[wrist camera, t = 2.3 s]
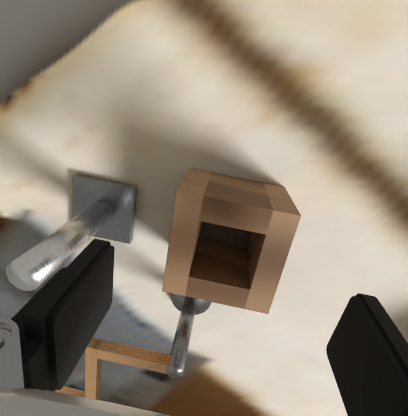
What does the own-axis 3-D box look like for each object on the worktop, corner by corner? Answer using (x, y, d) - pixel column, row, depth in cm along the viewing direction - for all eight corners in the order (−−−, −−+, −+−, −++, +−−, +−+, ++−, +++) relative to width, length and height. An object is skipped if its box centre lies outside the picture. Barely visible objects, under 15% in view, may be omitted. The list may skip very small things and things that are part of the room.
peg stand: (132, 239, 21) (70, 323, 13) (77, 228, 21) (-18, 304, 13) (136, 186, 20) (69, 244, 12) (77, 174, 20) (-31, 223, 12)
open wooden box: (260, 266, 21) (268, 313, 16) (178, 249, 21) (162, 291, 16) (284, 186, 18) (300, 215, 14) (191, 168, 19) (176, 190, 14)
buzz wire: (218, 302, 22) (211, 384, 16) (81, 346, 26) (30, 428, 19) (190, 252, 21) (170, 320, 15) (49, 306, 25) (-18, 380, 18)
